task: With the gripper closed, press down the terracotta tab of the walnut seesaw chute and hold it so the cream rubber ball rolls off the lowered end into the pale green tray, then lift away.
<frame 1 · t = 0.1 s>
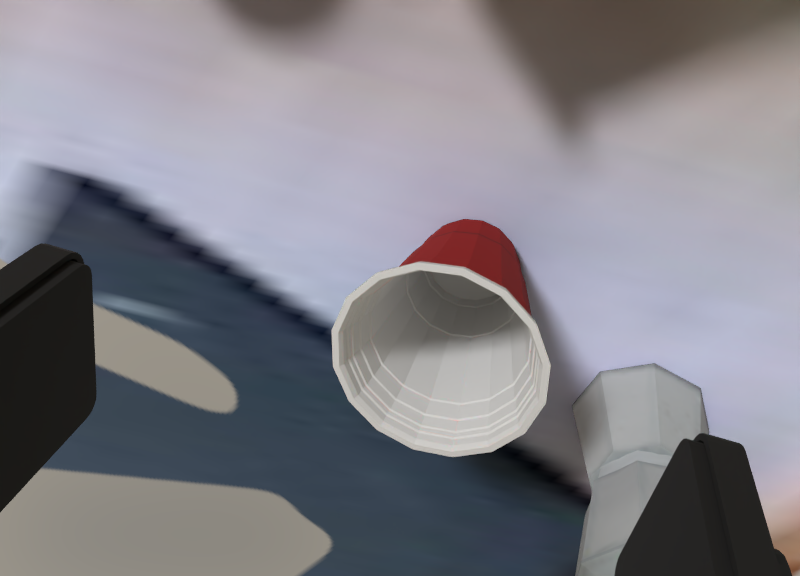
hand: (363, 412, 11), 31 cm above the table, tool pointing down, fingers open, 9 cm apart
plastic cup: (468, 257, 45), on the table
coffee maker: (629, 426, 48), on the table
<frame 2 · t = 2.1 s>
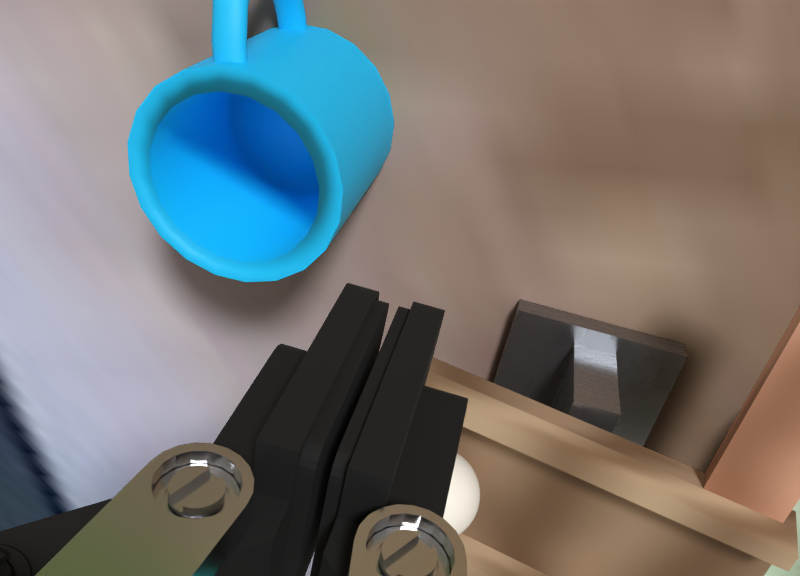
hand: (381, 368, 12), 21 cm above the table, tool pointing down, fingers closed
mug: (304, 74, 32), on the table
ball: (433, 493, 31), point 8 cm above the table, tilted 15°, touching chute
chute: (588, 450, 28), point 8 cm above the table, hinge at 12.0°, touching ball
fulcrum: (563, 415, 38), on the table
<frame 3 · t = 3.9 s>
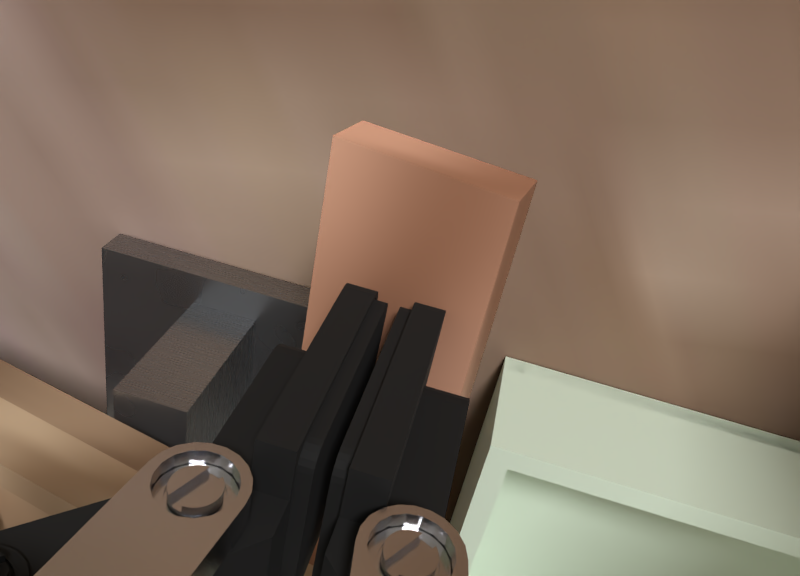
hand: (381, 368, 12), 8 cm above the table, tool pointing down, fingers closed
tray: (654, 545, 24), on the table
chute: (77, 476, 16), point 8 cm above the table, hinge at 11.6°, touching ball, gripper
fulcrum: (227, 413, 25), on the table
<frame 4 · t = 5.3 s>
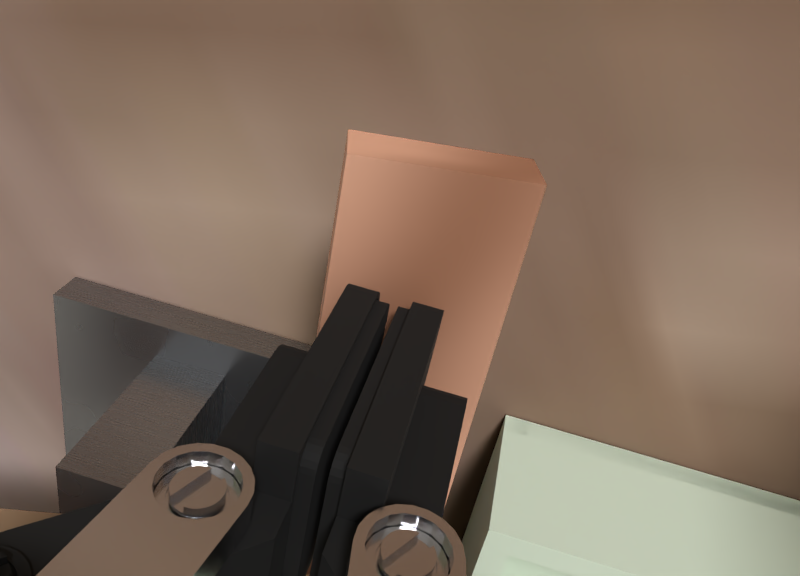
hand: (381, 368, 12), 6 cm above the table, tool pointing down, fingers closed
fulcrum: (200, 469, 23), on the table
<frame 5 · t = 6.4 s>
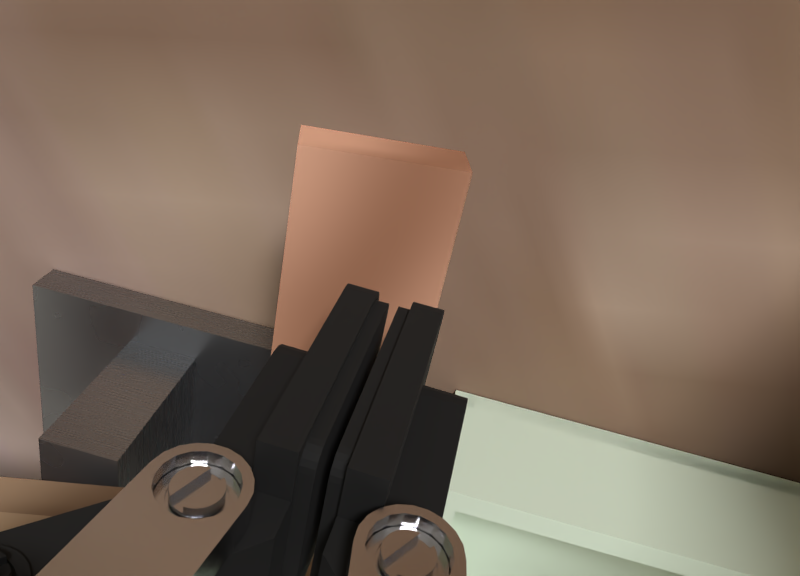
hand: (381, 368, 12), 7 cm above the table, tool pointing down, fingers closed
chute: (25, 544, 15), point 8 cm above the table, hinge at -14.0°
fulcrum: (173, 452, 24), on the table
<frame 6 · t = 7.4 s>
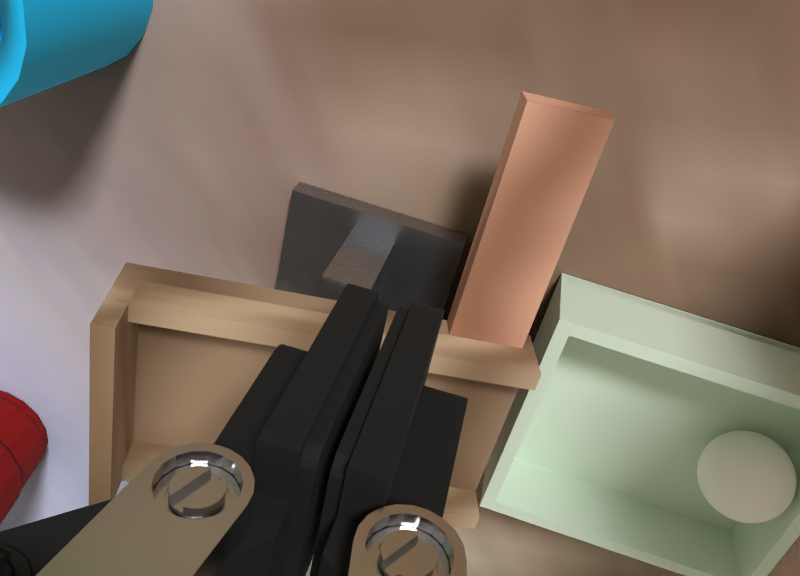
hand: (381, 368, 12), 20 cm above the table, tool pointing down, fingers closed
plastic cup: (8, 419, 46), on the table
tray: (654, 411, 35), on the table
ball: (745, 476, 32), point 3 cm above the table, tilted 29°, touching tray
chute: (334, 325, 26), point 8 cm above the table, hinge at -14.0°
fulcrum: (357, 315, 36), on the table
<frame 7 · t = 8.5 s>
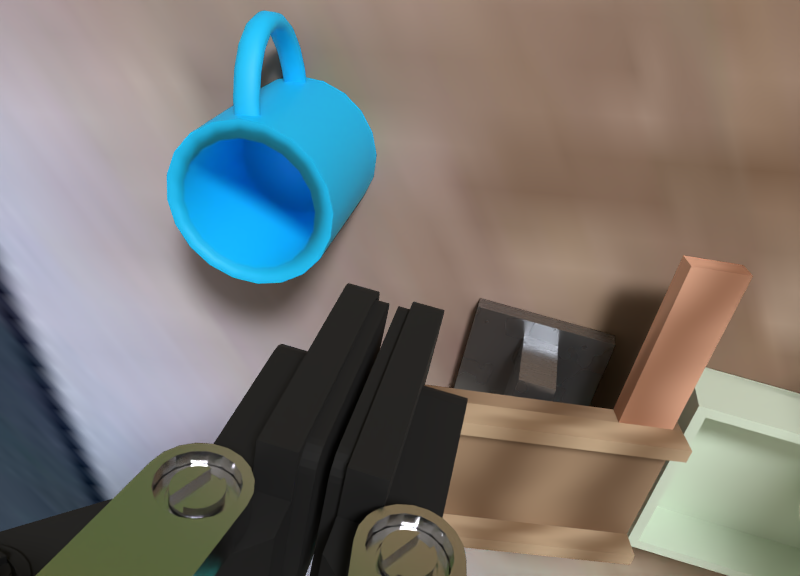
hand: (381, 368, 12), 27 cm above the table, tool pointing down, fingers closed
mug: (304, 115, 39), on the table
tray: (760, 465, 44), on the table
chute: (540, 421, 36), point 8 cm above the table, hinge at -14.0°
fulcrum: (518, 395, 45), on the table
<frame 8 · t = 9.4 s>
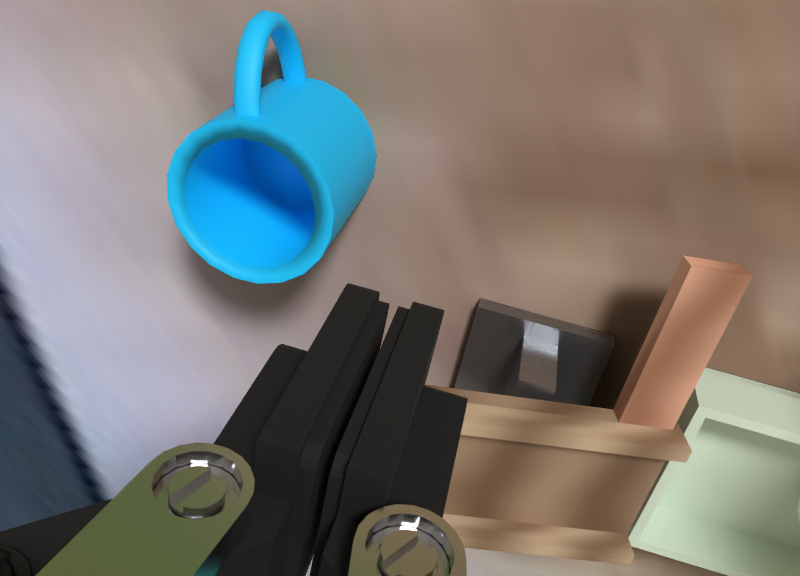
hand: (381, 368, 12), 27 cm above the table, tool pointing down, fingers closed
mug: (304, 115, 40), on the table
tray: (760, 465, 44), on the table
chute: (540, 421, 36), point 8 cm above the table, hinge at -14.0°
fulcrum: (518, 395, 45), on the table
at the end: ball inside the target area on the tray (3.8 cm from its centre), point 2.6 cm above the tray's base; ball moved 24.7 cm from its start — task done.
